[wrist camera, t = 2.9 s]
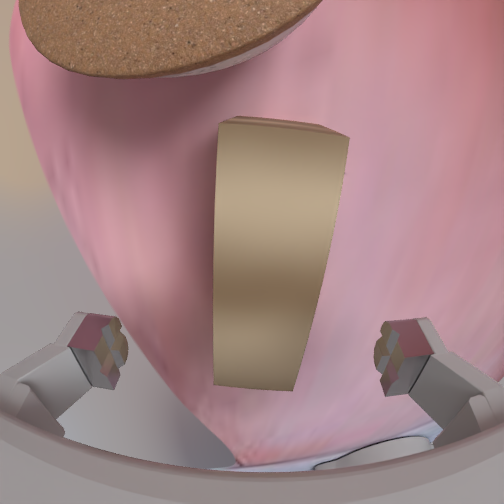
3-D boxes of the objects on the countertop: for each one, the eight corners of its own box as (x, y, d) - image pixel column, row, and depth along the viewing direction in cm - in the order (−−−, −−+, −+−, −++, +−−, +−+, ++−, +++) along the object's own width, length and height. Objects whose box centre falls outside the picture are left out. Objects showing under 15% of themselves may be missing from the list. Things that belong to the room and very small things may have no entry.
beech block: (288, 317, 19) (292, 391, 14) (227, 311, 19) (213, 384, 14) (318, 124, 14) (349, 137, 8) (237, 116, 14) (218, 123, 8)
